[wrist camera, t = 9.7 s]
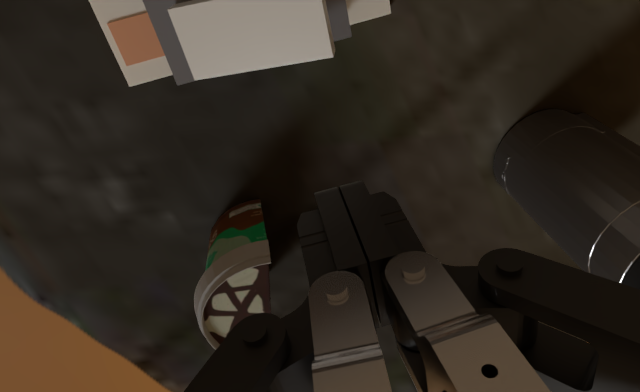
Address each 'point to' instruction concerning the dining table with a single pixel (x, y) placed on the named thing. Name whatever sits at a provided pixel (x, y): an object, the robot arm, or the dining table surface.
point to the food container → (234, 272)
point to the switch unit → (162, 41)
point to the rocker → (251, 34)
